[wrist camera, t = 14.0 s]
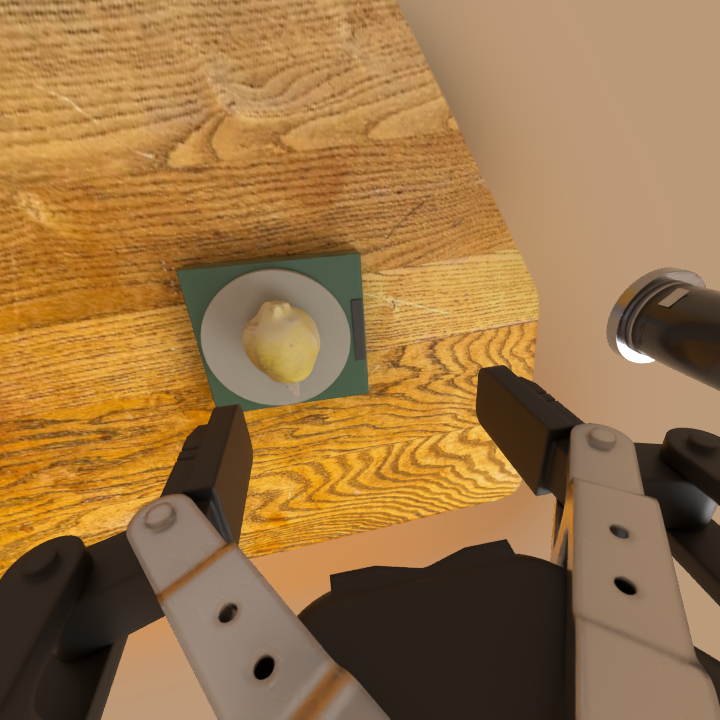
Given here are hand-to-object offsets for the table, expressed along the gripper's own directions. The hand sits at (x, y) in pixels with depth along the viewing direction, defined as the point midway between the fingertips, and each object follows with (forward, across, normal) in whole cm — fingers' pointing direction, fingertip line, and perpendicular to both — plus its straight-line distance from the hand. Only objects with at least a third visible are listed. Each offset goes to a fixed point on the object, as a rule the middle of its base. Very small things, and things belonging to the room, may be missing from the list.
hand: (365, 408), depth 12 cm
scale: (+23, +4, +5) cm, 24 cm away
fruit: (+20, +4, +5) cm, 21 cm away
